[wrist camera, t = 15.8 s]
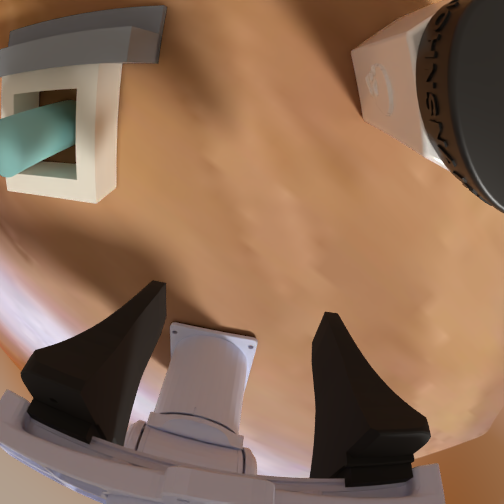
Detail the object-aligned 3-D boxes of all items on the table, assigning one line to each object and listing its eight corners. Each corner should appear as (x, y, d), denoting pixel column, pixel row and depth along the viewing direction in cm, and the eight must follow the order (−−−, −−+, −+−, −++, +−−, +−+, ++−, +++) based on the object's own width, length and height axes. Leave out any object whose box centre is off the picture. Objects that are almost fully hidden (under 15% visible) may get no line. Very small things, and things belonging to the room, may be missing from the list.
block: (116, 187, 21) (96, 203, 19) (29, 177, 21) (7, 190, 18) (122, 63, 16) (99, 63, 14) (27, 72, 16) (2, 76, 14)
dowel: (89, 100, 18) (23, 118, 12) (86, 148, 20) (24, 180, 14) (52, 99, 18) (-14, 118, 12) (50, 143, 20) (-11, 174, 14)
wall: (158, 63, 17) (126, 61, 13) (10, 75, 16) (-28, 83, 13) (167, 7, 14) (138, -8, 11) (14, 31, 14) (-24, 33, 10)
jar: (338, 19, 14) (413, -48, 4) (451, 20, 13) (581, 7, 3) (364, 154, 19) (449, 248, 8) (467, 144, 17) (587, 219, 7)
